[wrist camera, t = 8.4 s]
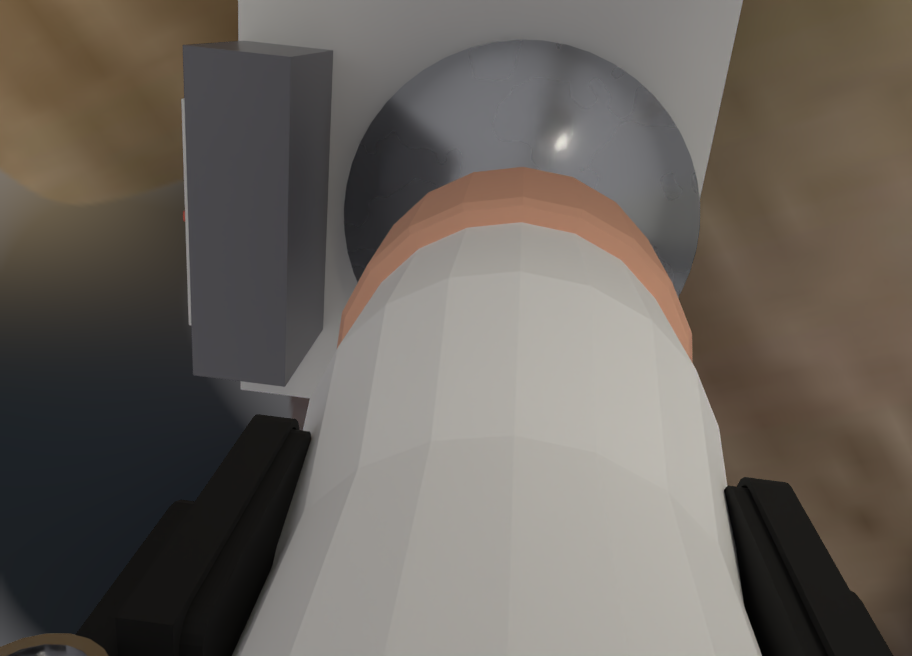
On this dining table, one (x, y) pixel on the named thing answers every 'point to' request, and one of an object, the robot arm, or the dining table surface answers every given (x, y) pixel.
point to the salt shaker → (508, 448)
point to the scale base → (338, 137)
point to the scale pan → (526, 142)
